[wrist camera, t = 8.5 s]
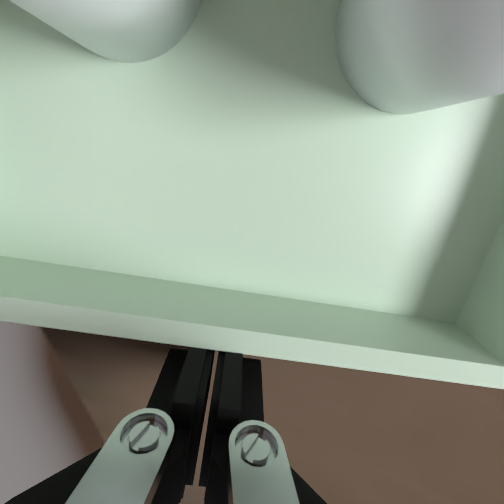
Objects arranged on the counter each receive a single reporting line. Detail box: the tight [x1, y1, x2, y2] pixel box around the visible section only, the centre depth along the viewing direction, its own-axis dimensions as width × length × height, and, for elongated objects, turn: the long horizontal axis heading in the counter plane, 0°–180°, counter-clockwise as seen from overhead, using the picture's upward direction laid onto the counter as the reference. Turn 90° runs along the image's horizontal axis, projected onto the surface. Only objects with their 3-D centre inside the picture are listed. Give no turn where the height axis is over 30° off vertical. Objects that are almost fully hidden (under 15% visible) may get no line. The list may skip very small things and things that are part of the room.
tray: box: [0, 0, 504, 389], centre depth 8 cm, size 15×19×3 cm
